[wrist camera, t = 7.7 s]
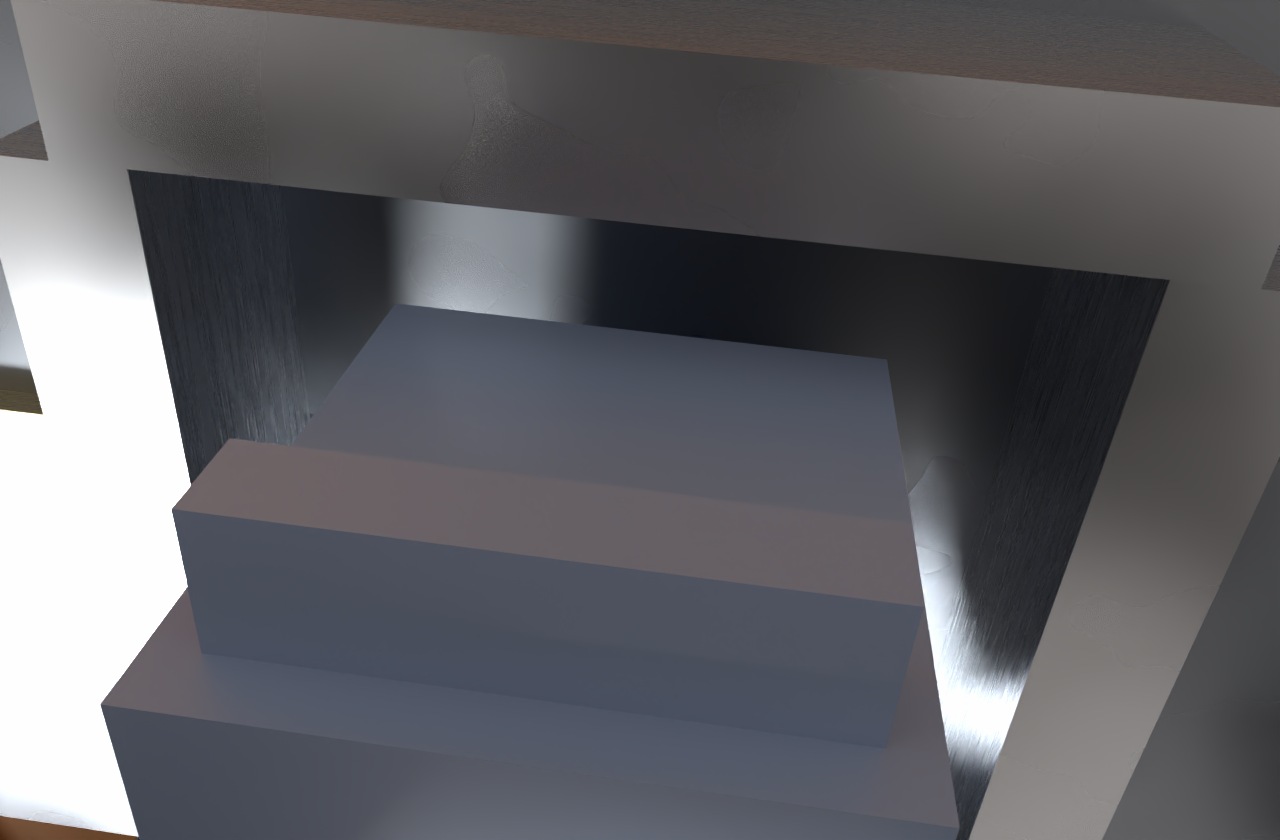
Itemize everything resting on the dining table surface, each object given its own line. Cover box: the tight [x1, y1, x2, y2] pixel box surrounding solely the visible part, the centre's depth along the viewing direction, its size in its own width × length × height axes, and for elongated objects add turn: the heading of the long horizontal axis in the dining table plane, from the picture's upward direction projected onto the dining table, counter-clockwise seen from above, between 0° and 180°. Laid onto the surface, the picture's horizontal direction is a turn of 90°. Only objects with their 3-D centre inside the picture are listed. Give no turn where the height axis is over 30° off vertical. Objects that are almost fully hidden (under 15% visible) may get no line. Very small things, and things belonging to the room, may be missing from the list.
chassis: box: [0, 0, 1280, 840], centre depth 11 cm, size 20×14×3 cm
